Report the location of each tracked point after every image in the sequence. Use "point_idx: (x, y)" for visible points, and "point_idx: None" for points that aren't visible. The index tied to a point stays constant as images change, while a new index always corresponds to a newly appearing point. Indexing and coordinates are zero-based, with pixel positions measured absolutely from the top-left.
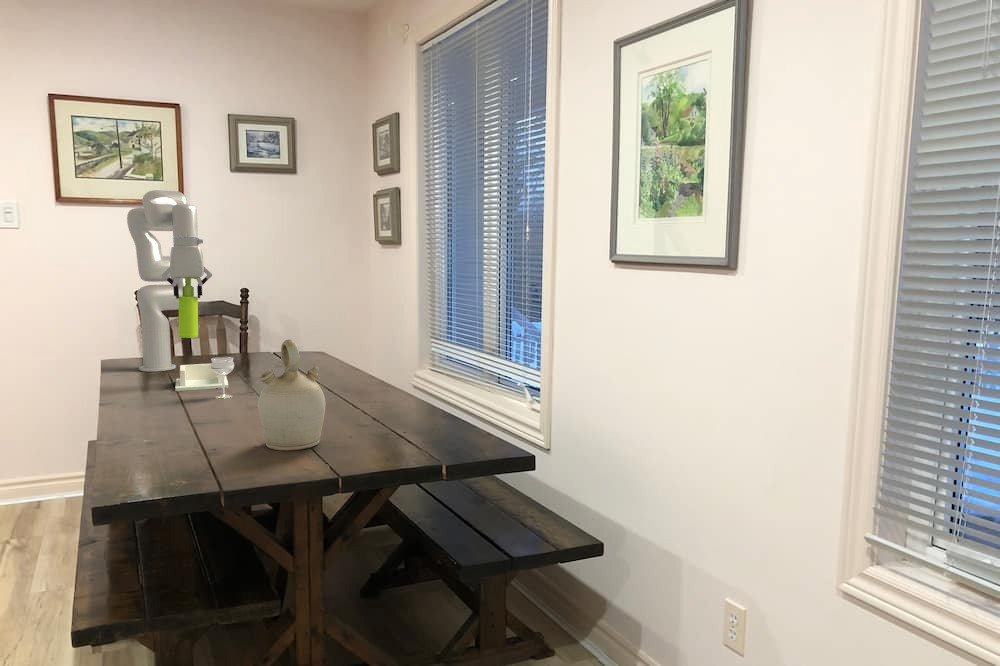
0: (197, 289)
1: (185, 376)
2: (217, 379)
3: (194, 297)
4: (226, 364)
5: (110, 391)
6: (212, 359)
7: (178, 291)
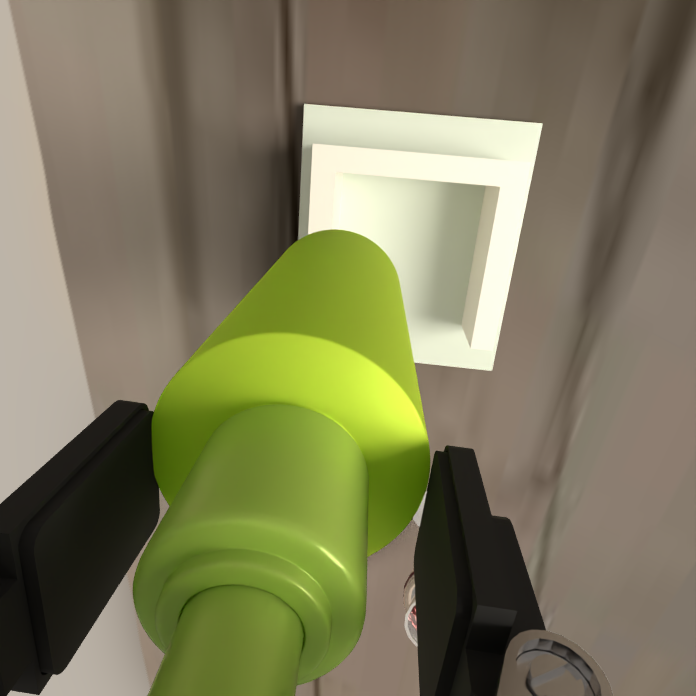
0: (422, 679)
1: (337, 213)
2: (479, 219)
3: (371, 541)
4: None
5: (62, 234)
6: (414, 602)
7: (104, 533)
